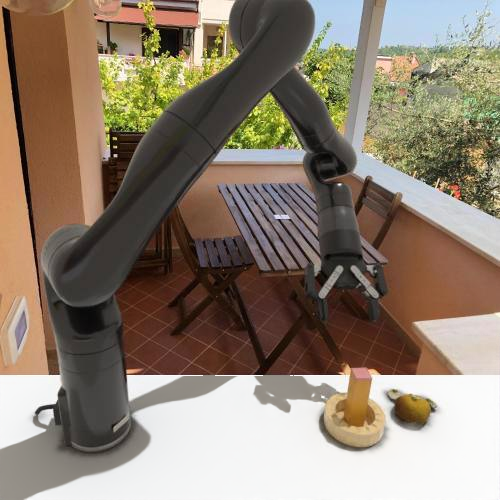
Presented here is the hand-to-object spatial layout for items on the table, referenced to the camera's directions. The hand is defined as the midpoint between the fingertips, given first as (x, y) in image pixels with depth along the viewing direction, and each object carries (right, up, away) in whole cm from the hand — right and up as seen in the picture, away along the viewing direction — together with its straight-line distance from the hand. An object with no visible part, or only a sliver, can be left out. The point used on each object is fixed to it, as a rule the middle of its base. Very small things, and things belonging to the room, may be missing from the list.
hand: (350, 321), depth 73 cm
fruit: (+12, -16, +2) cm, 20 cm away
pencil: (0, -16, -2) cm, 17 cm away
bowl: (0, -17, -2) cm, 17 cm away
